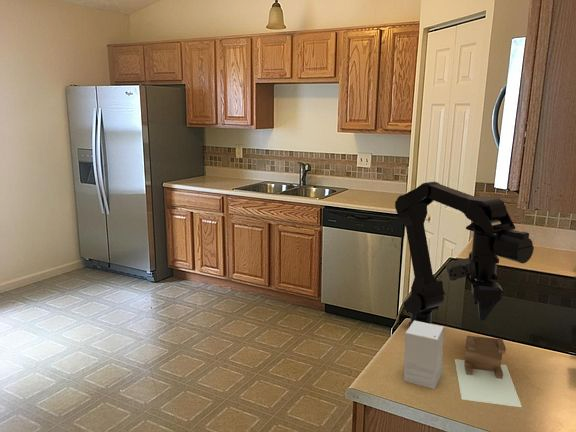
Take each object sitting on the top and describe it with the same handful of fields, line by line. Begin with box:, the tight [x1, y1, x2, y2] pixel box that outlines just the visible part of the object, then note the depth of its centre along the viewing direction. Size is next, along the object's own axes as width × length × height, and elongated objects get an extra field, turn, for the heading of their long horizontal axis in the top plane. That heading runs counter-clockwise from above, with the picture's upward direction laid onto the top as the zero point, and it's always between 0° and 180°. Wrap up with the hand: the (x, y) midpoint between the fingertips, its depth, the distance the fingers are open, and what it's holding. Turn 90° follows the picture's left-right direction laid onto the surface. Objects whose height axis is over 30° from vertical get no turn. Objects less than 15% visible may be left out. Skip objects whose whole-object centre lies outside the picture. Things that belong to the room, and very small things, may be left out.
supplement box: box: [403, 320, 445, 390], centre depth 108 cm, size 7×7×13 cm
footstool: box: [464, 335, 507, 379], centre depth 111 cm, size 4×8×8 cm, turn 76°
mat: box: [454, 358, 522, 408], centre depth 108 cm, size 17×12×1 cm
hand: (479, 311), depth 114 cm, fingers open, 9 cm apart
